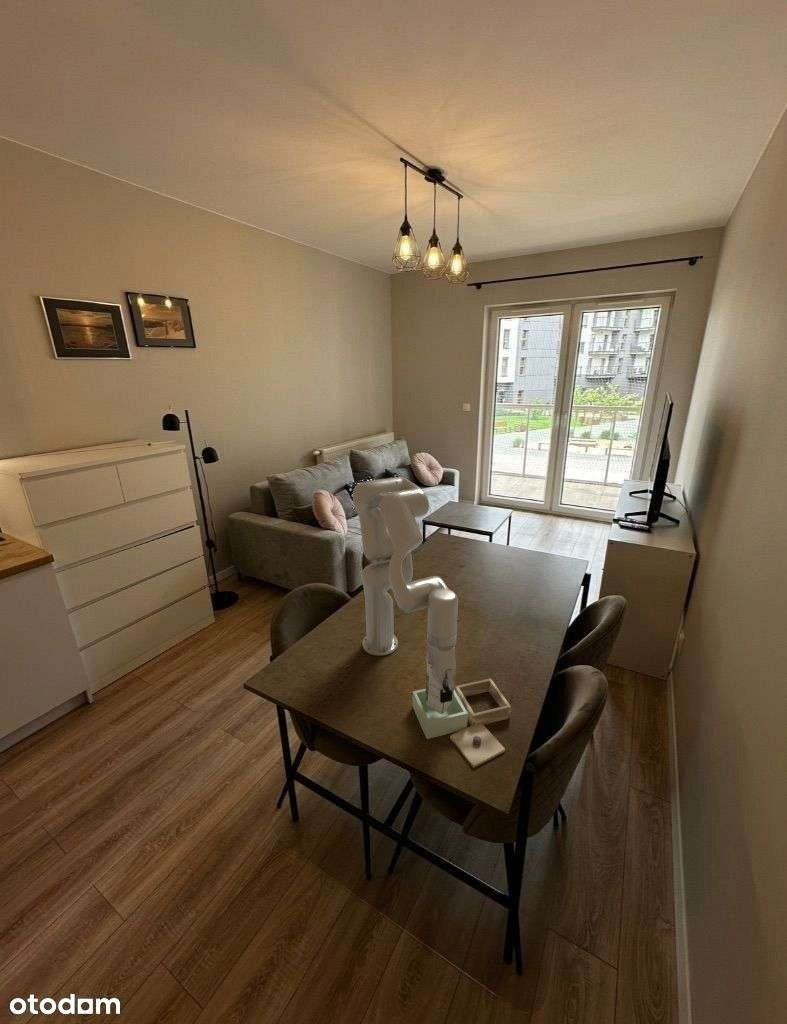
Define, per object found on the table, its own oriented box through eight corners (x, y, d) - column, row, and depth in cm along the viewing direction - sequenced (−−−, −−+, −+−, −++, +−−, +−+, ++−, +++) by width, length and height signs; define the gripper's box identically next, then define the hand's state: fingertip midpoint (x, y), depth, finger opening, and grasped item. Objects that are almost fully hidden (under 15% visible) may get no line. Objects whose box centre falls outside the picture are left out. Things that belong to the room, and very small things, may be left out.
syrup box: (436, 693, 119) (437, 651, 114) (454, 703, 115) (456, 659, 111) (424, 705, 115) (425, 661, 110) (442, 715, 111) (444, 671, 106)
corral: (454, 697, 124) (455, 686, 123) (489, 688, 127) (490, 678, 126) (472, 727, 113) (472, 716, 112) (510, 718, 116) (511, 706, 115)
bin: (412, 706, 120) (412, 691, 119) (449, 698, 123) (450, 683, 122) (426, 739, 110) (426, 723, 108) (466, 729, 113) (467, 713, 111)
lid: (449, 737, 110) (450, 732, 110) (479, 723, 115) (480, 718, 114) (473, 768, 102) (474, 762, 101) (504, 751, 106) (505, 746, 106)
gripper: (417, 619, 115) (416, 671, 120) (441, 659, 99) (439, 717, 105) (442, 615, 117) (440, 666, 122) (469, 653, 101) (466, 711, 107)
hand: (440, 689), depth 113 cm, fingers closed on syrup box, 7 cm apart
